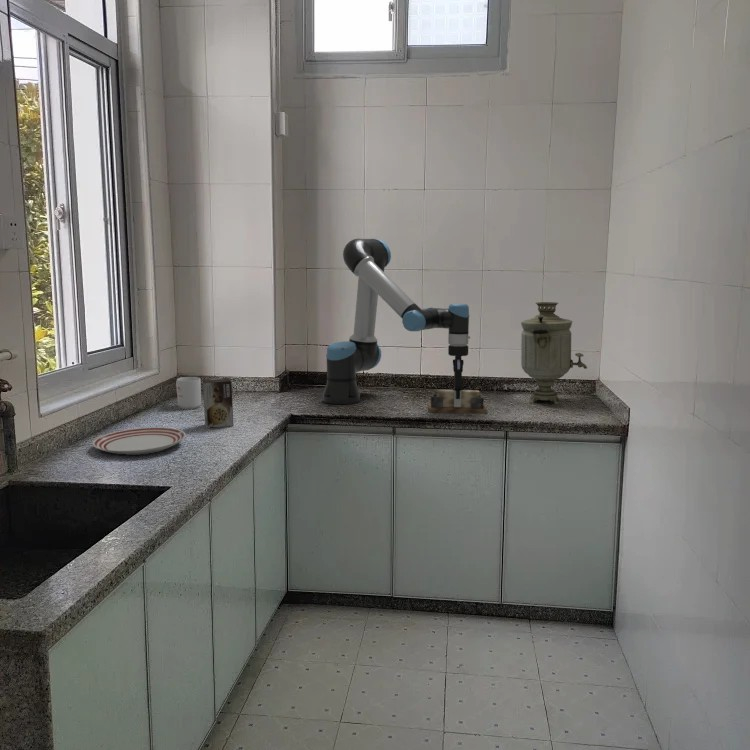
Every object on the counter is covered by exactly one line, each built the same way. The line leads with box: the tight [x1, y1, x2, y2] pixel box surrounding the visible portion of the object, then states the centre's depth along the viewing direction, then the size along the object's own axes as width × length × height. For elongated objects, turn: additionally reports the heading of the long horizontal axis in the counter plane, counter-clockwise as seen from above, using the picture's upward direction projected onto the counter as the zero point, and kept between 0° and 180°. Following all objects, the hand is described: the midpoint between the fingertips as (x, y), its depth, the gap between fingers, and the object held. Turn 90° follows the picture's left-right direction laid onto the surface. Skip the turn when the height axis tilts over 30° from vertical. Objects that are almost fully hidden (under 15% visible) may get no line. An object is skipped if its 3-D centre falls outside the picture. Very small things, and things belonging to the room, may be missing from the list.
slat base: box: [427, 393, 488, 415], centre depth 274 cm, size 22×10×6 cm, turn 85°
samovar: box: [520, 301, 588, 406], centre depth 286 cm, size 30×26×40 cm
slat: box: [436, 389, 480, 407], centre depth 273 cm, size 16×4×6 cm, turn 86°
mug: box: [175, 376, 202, 410], centre depth 277 cm, size 12×9×11 cm
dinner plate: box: [91, 426, 187, 456], centre depth 221 cm, size 27×27×3 cm
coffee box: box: [202, 377, 234, 429], centre depth 247 cm, size 9×6×16 cm
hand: (457, 405), depth 274 cm, fingers open, 4 cm apart
